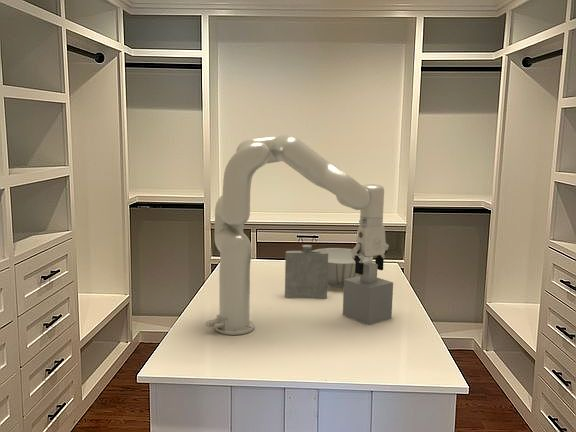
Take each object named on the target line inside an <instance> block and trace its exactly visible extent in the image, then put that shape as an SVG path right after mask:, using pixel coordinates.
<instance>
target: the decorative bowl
mask: <svg viewBox="0 0 576 432" xmlns="http://www.w3.org/2000/svg"><path fill="white" fill-rule="evenodd" d="M352 249H353V248H345V247H344V248H343V247H341V248H340V247H327V248H317V249H314V250H315V251H320V252H328V280H327V287H330V288H339V289H342V288H343V289H344V279H348V278H353V277H357V276H360V274H357V273H355V261H354V259H353V258H352V254H351V250H352ZM359 258H361V256H360V257H359ZM373 259H374V256H373V257H365V258H364V260H363V262H362V263H365V262H372V263H373Z"/></svg>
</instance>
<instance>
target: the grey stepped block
mask: <svg viewBox="0 0 576 432" xmlns="http://www.w3.org/2000/svg"><path fill="white" fill-rule="evenodd" d="M363 264H364V267H363V275H360V276H357V277H353V278H348V279H344V288H343V295H342V296H343V297H342V315H343V316H345V317H347V318H350V319H352V320H355V321H357V322H360V323H362V324H365V325H367V324H368V325H367V326H369V325H373V324H376V323H380V322H384V321H386V320H390V319H392V314H393V295H394V292H393V291H394V282H392V281H390V280H386V279H383V278H379V277H378V269H377V268H378V264H376V263H375V262H373V261H372V262H365V263H363Z"/></svg>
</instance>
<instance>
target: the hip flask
mask: <svg viewBox="0 0 576 432" xmlns="http://www.w3.org/2000/svg"><path fill="white" fill-rule="evenodd" d="M301 246H302V250H286V251H285V259H284V260H285V261H284V262H285V264H284V267H285V268H284V269H285V270H284V273H285V275H284V298H285V299H315V300H316V299H317V300H326V299H327V298H328V286H327V280H328V252H320V251H315V250H316V249H313V250H312V248H313V245H312V244H302V245H301Z"/></svg>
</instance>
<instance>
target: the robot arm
mask: <svg viewBox="0 0 576 432" xmlns="http://www.w3.org/2000/svg"><path fill="white" fill-rule="evenodd" d="M279 162H282V163H285V165H287V166H289V168H290V167H291V168H292V169H294V171H295V172H297V173H298V174H300V175H301V176H302V177H303V178H305V179H306V180H308V182H310V183H312V184H313V185H315V186H317V187H320V188H322V189H324V190H326V191H328V192H329V193H331V194H333V195H334V196H335V199H336V200H337V201H338V203H339V204H340V205H342V206H344V207H347V208H350V209H353V210H357V211H359V210H360V213H359V215H360V216H359V220H358V222H359V226H358V229H357V233H356V234H357V235H356V243H355V244H356V245H355V246H354V247H353V248H351V249H352V250H351V254H352V258H353V259H354V261H355V273H357V274H360V275H363V267H364V264H363V263H362V262H363V260H364V258H365V257H373V258H374V257H375V261H374V263H376V264H378V268H377V271H378V270H379V271H383V270H384V262H385V260H384V259H385V258H386V254H387V253H388V249H389V247H390V245H389V244H388V243H387V242H386V229H385V225H384V224H383V223H384V221H383V220H384V202H385V188H384V186H383V185H381V184H372V183H371V184H370V183H369V184H364V185H363V184H361V183H360V182H358V181H357V180H355V178H353V177H351V176H350V175H349V174H347V173H346V172H344V171H343V170H341V169H340V168H339V167H337V166H336V165H334V164H333V163H331V162H330V161H328V160H327V159H326V158H324V157H323V156H321V154H319V153H317V152H316V151H315V150H314V149H312V148H311V147H310V146H309V145H308V144H306V143H305V142H304V141H302V140H301V139H300V138H298V137H296V136H294V135H287V134H286V135H285V134H284V135H282V134H281V135H276V136H275V135H274V136H269V137H261V138H251V139H245V140H243V141H241V142H240V143H239V144H238V145H237V148H236V151H235V153H234V154H233V155H232V156H231V157H230V159H229V160H228V162H227V164H226V165H225V169H224V173H223V181H222V195H220V196H219V198H218V199H217V202H216V204H215V207H214V208H215V209H214V236H213V237H214V243H215V247H216V249H217V250H218V251H219V253H220V254H219V258H220V259H219V269H218V270H219V273H218V275H219V276H218V277H219V279H218V280H219V281H218V282H219V283H218V284H219V311H218V312H219V313H218V314H216V317H215V318H214V319H211V320H207V321H205V327H206V328H212V327H213V328H214V330H215V331H216V332H217V333H220V334H224V335H226V336H227V335H228V336H230V335H231V336H240V335H245V334H248V333H251V332H252V331H254V329H255V323H254V322H253V321H252V320H251V319H250V302H251V301H250V297H251V296H250V295H251V294H250V293H251V291H250V289H251V288H250V287H251V286H250V285H251V283H250V282H251V281H250V280H251V279H250V277H251V275H250V273H251V271H250V270H251V261H252V253H253V249H252V243H251V241H250V239H249V237H248V236H247V235H246V234H245V232H244V225H245V224H247V222H248V221H249V219H250V216H251V190H252V189H251V188H252V187H251V186H252V179H253V176H254V175H255V173H256V172H257V170H259V169H261V168H262V167H264V166H265V165H266V164H273V163H279ZM360 256H361V258H359V257H360Z"/></svg>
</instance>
